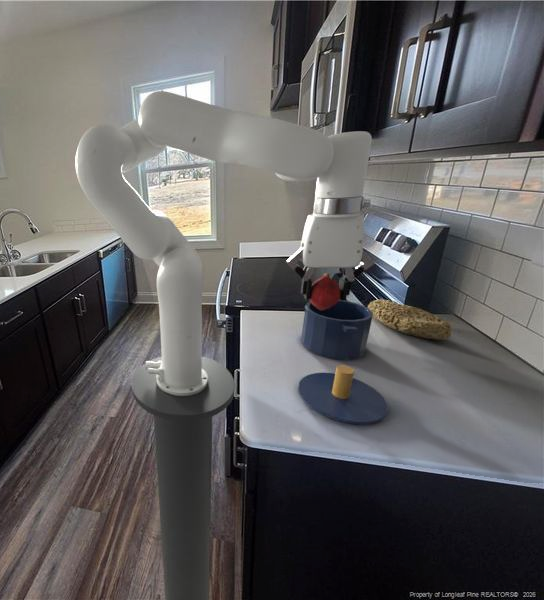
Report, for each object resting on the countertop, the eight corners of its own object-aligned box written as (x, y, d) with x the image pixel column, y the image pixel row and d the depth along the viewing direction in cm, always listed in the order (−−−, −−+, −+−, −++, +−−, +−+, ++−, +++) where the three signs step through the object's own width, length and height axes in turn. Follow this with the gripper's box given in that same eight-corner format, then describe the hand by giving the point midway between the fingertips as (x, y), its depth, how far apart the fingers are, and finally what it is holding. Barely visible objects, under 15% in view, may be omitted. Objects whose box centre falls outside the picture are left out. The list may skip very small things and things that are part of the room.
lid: (307, 421, 60) (312, 390, 57) (291, 374, 74) (294, 347, 71) (403, 431, 56) (413, 398, 53) (367, 379, 70) (373, 351, 68)
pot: (311, 363, 77) (317, 324, 73) (294, 327, 95) (298, 295, 91) (379, 368, 74) (389, 327, 70) (348, 329, 92) (355, 296, 88)
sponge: (359, 319, 100) (401, 337, 81) (366, 295, 99) (411, 307, 79) (404, 327, 99) (457, 346, 79) (411, 302, 97) (468, 316, 78)
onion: (342, 316, 63) (348, 277, 60) (310, 315, 64) (315, 277, 61) (332, 305, 68) (337, 269, 65) (303, 304, 69) (307, 269, 66)
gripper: (381, 203, 60) (364, 292, 66) (283, 207, 64) (276, 290, 71) (400, 206, 53) (379, 306, 59) (289, 211, 58) (281, 303, 64)
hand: (323, 297), depth 65 cm, fingers closed on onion, 5 cm apart
